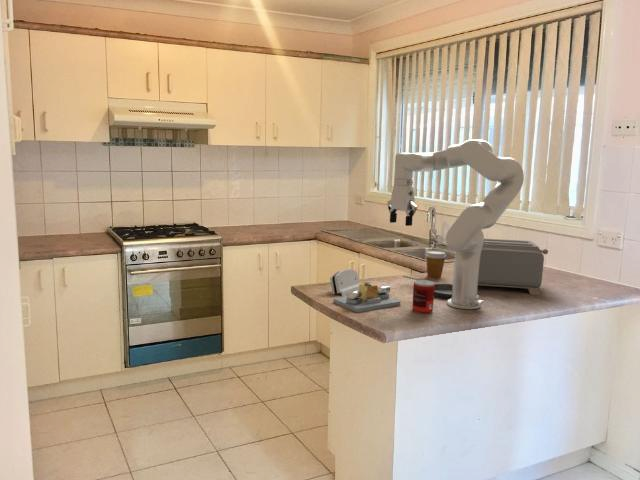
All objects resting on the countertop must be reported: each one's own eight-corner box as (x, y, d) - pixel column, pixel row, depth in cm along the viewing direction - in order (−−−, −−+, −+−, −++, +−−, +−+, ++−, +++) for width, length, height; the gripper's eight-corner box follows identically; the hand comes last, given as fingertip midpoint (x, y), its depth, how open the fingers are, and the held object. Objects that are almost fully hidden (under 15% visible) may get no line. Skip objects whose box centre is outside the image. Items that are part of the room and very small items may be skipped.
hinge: (342, 296, 228) (336, 272, 228) (333, 298, 231) (327, 274, 231) (364, 288, 241) (358, 265, 242) (355, 290, 244) (349, 267, 244)
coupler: (366, 302, 215) (367, 285, 214) (358, 299, 219) (359, 282, 218) (376, 300, 217) (377, 284, 216) (368, 297, 222) (369, 281, 220)
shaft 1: (353, 304, 217) (353, 288, 216) (362, 306, 215) (363, 290, 214) (344, 307, 212) (345, 291, 211) (354, 309, 210) (355, 294, 209)
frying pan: (455, 303, 224) (456, 294, 223) (390, 287, 246) (390, 279, 245) (477, 295, 237) (478, 287, 236) (413, 281, 259) (414, 273, 258)
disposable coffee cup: (437, 274, 273) (438, 250, 271) (448, 279, 264) (450, 253, 262) (420, 275, 270) (421, 250, 268) (430, 280, 261) (432, 254, 259)
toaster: (549, 295, 241) (554, 248, 237) (465, 290, 246) (468, 243, 242) (539, 284, 259) (543, 241, 256) (461, 279, 264) (464, 236, 261)
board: (375, 295, 230) (375, 288, 230) (400, 305, 218) (400, 297, 218) (333, 302, 219) (333, 294, 218) (356, 312, 206) (357, 304, 206)
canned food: (430, 307, 216) (432, 279, 214) (435, 314, 208) (437, 285, 206) (410, 307, 215) (411, 279, 214) (414, 313, 208) (416, 284, 206)
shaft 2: (383, 299, 226) (384, 284, 225) (391, 301, 222) (391, 286, 221) (371, 301, 222) (372, 286, 221) (378, 303, 219) (379, 288, 218)
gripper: (424, 184, 229) (421, 226, 231) (396, 181, 243) (393, 220, 246) (410, 184, 224) (408, 227, 227) (382, 181, 239) (380, 221, 241)
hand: (400, 224), depth 236 cm, fingers open, 9 cm apart
